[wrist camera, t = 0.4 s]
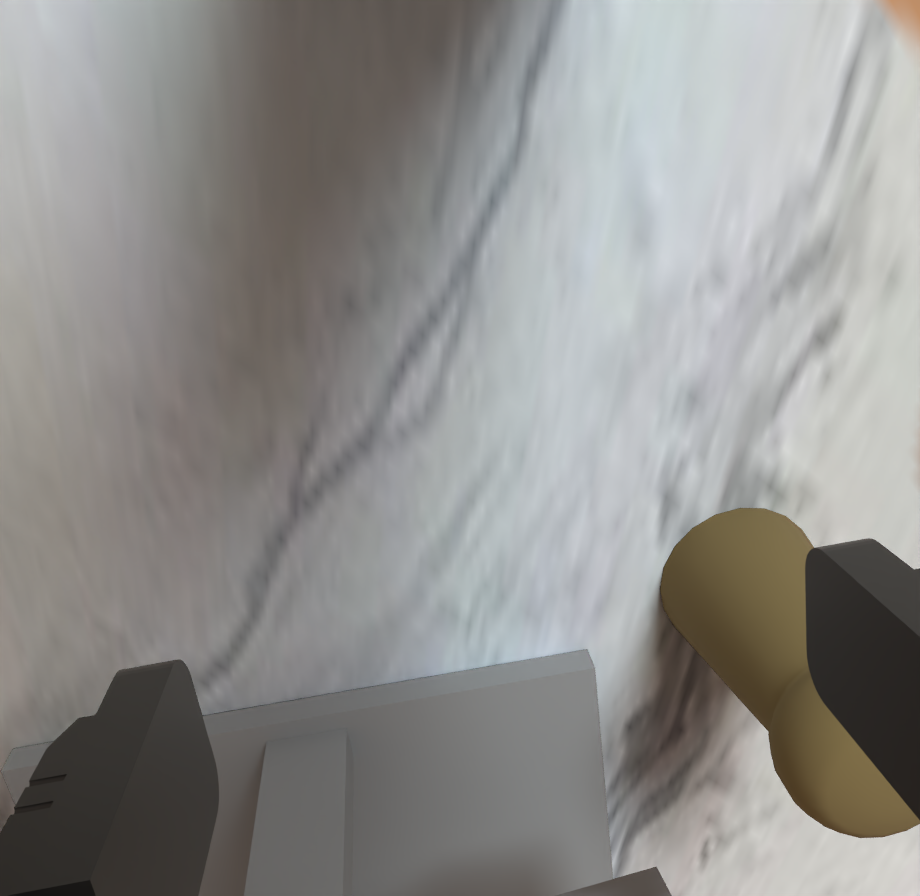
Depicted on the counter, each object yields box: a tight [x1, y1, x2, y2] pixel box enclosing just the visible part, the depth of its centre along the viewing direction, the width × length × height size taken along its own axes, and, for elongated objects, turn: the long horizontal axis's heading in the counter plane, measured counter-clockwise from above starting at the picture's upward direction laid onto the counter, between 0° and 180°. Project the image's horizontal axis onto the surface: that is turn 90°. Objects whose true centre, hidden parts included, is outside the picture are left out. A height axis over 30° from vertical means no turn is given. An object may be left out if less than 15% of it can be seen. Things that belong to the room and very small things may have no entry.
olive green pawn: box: [660, 508, 920, 838], centre depth 29 cm, size 6×6×11 cm
